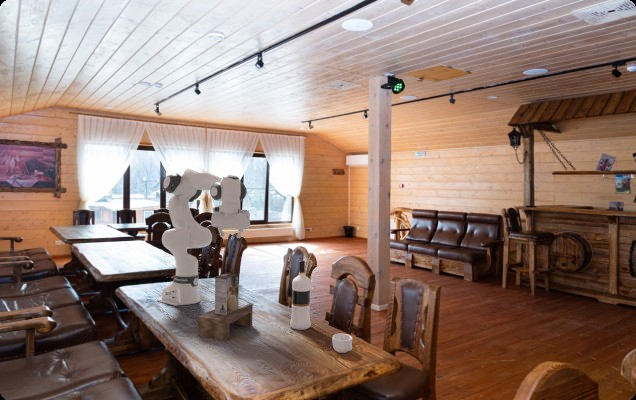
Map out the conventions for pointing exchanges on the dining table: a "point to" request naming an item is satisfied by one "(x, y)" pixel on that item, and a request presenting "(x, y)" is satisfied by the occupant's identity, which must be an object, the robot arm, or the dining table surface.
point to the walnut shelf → (224, 322)
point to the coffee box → (226, 293)
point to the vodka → (301, 300)
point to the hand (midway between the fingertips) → (230, 237)
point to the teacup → (342, 342)
